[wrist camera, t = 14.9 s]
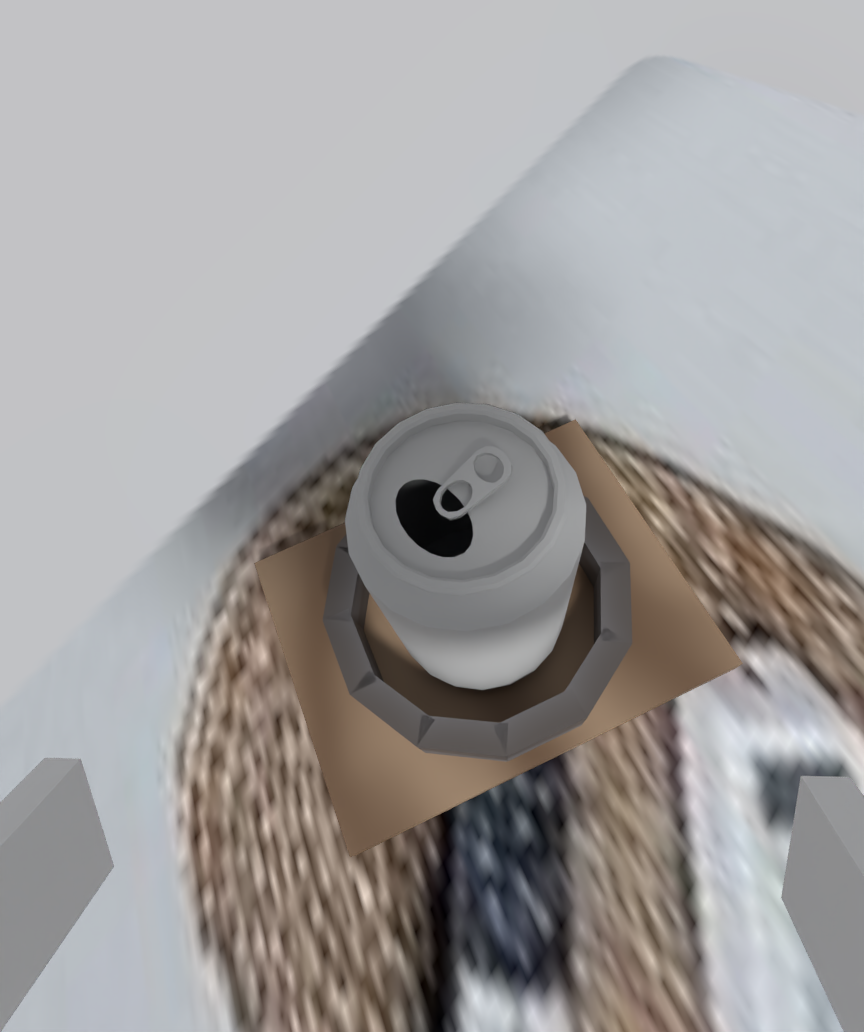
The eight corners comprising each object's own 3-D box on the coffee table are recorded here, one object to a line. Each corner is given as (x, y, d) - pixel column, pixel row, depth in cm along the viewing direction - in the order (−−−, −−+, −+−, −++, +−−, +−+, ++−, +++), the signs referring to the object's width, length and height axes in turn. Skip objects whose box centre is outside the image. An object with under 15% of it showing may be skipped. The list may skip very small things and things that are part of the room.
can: (368, 598, 29) (283, 473, 18) (491, 507, 30) (479, 341, 20) (465, 730, 26) (431, 673, 15) (598, 622, 27) (652, 500, 17)
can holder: (573, 430, 33) (580, 390, 30) (734, 668, 27) (764, 649, 24) (261, 570, 32) (233, 543, 28) (355, 855, 25) (333, 861, 22)
